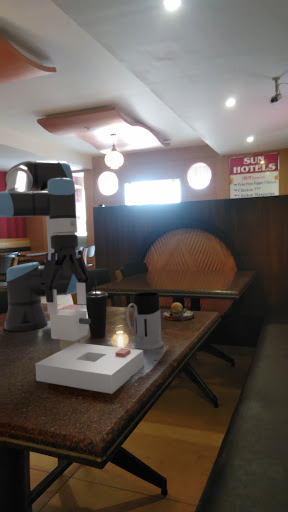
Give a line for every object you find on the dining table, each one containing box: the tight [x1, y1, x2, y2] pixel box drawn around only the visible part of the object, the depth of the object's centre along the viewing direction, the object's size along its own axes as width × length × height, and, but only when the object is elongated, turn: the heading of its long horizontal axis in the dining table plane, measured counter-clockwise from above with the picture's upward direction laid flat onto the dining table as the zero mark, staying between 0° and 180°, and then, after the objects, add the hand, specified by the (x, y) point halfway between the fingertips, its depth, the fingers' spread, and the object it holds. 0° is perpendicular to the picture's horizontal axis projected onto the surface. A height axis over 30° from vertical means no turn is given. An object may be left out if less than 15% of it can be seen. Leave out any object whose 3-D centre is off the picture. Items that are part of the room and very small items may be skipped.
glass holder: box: [125, 291, 164, 350], centre depth 102 cm, size 9×14×15 cm, turn 147°
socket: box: [34, 342, 145, 395], centre depth 84 cm, size 20×16×5 cm
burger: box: [162, 300, 194, 322], centre depth 136 cm, size 12×12×8 cm
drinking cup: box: [85, 274, 109, 339], centre depth 115 cm, size 8×8×20 cm
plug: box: [49, 308, 90, 351], centre depth 101 cm, size 11×6×11 cm, turn 66°
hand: (68, 309), depth 101 cm, fingers open, 13 cm apart
